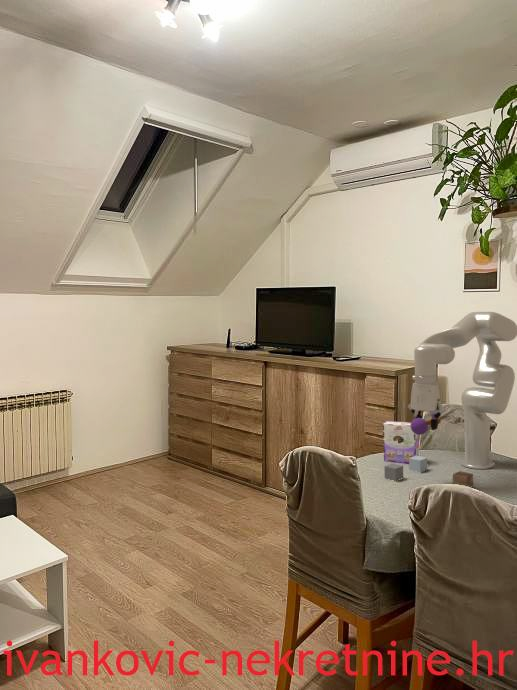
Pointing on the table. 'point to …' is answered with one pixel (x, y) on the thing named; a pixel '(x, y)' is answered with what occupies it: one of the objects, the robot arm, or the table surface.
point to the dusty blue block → (418, 463)
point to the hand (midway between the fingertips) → (426, 427)
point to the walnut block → (463, 478)
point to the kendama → (421, 425)
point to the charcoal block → (393, 472)
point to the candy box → (399, 442)
